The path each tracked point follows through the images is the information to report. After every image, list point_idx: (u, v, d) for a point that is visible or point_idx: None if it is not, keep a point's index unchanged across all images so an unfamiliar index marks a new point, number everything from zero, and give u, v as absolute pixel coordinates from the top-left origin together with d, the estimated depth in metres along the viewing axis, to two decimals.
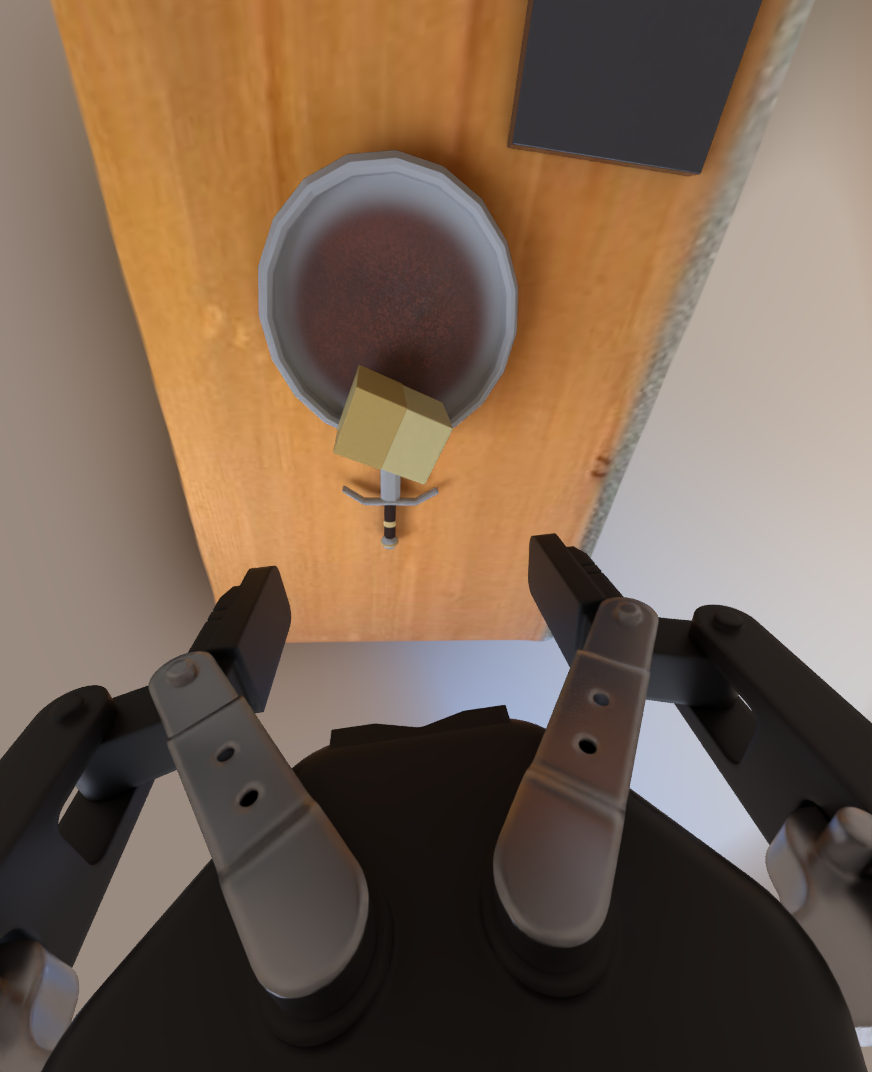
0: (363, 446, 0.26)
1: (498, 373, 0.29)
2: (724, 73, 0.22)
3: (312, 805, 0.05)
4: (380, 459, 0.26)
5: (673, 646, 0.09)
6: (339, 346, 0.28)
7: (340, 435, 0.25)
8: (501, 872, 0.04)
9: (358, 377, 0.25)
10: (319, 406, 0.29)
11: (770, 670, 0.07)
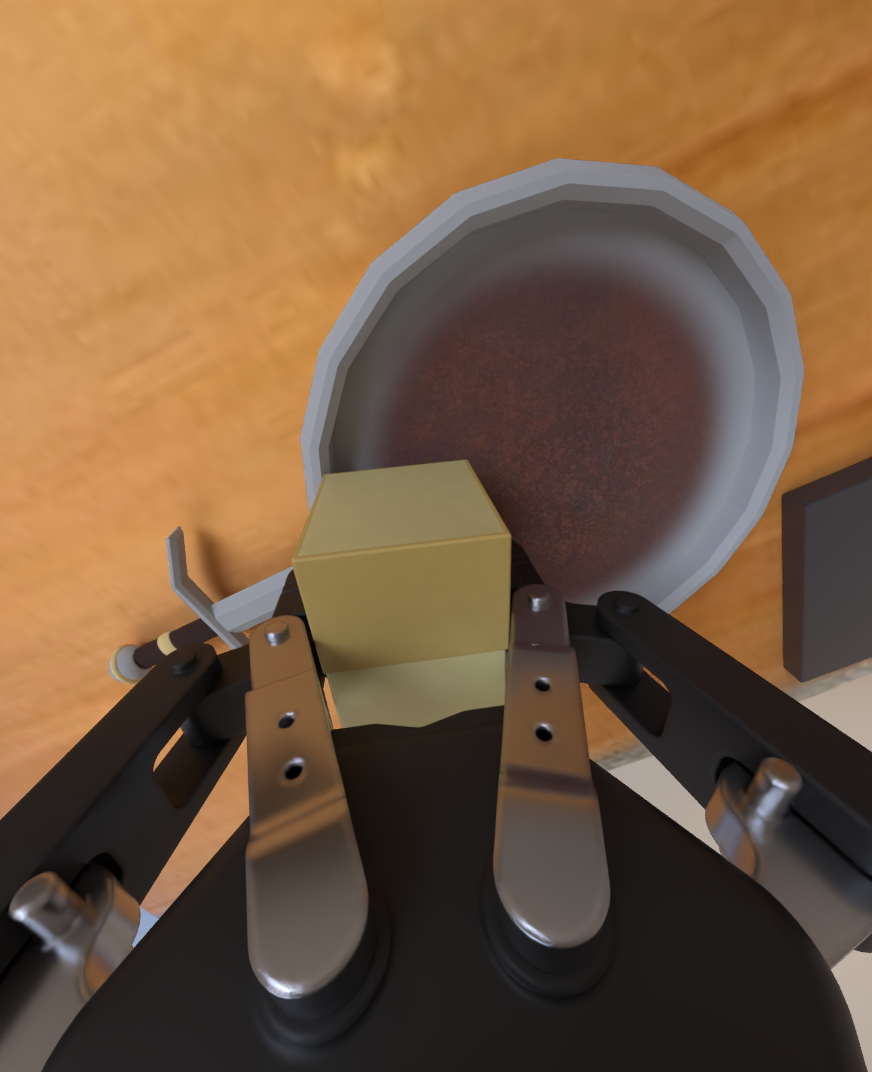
0: (360, 616, 0.09)
1: None
2: None
3: (342, 801, 0.05)
4: (352, 662, 0.10)
5: (578, 629, 0.09)
6: (466, 399, 0.13)
7: (357, 555, 0.08)
8: (501, 872, 0.04)
9: (489, 498, 0.10)
10: (332, 417, 0.12)
11: (671, 644, 0.08)
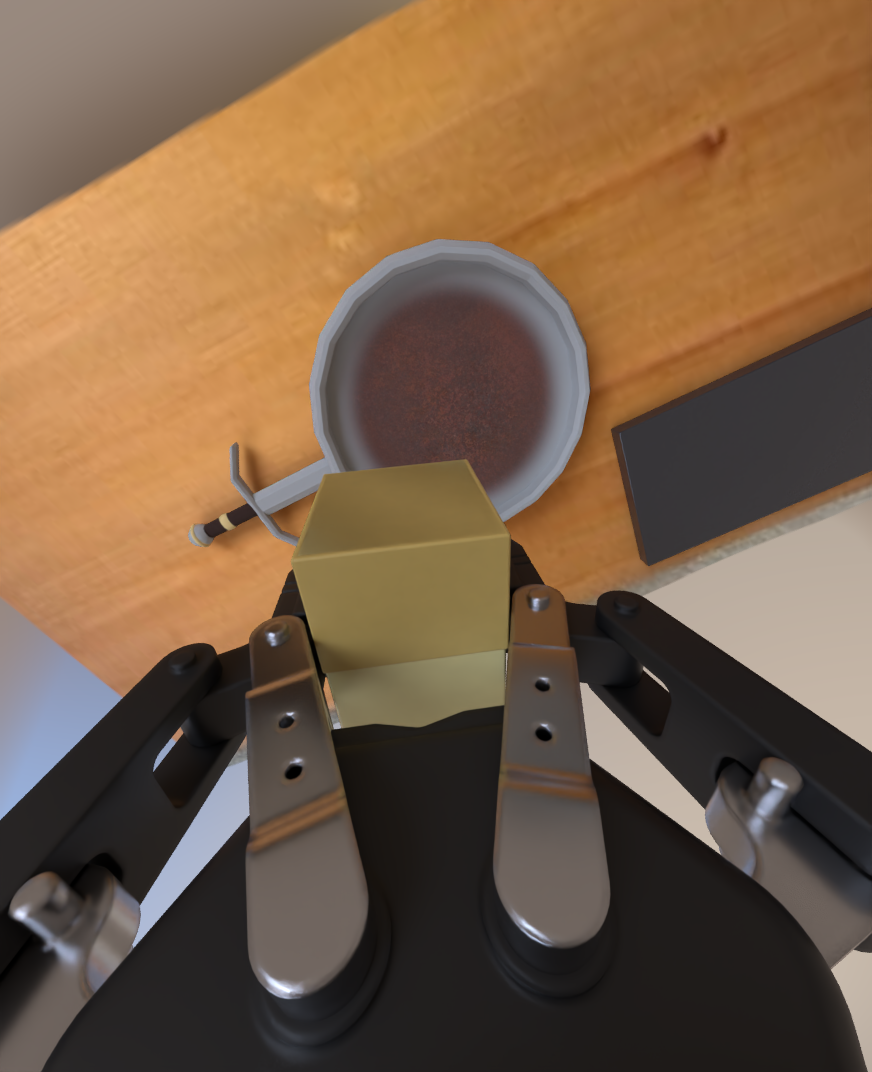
0: (360, 615, 0.09)
1: None
2: (696, 538, 0.32)
3: (342, 801, 0.05)
4: (351, 661, 0.10)
5: (578, 628, 0.09)
6: (401, 363, 0.24)
7: (356, 555, 0.08)
8: (501, 872, 0.04)
9: (488, 498, 0.10)
10: (327, 371, 0.22)
11: (671, 644, 0.08)
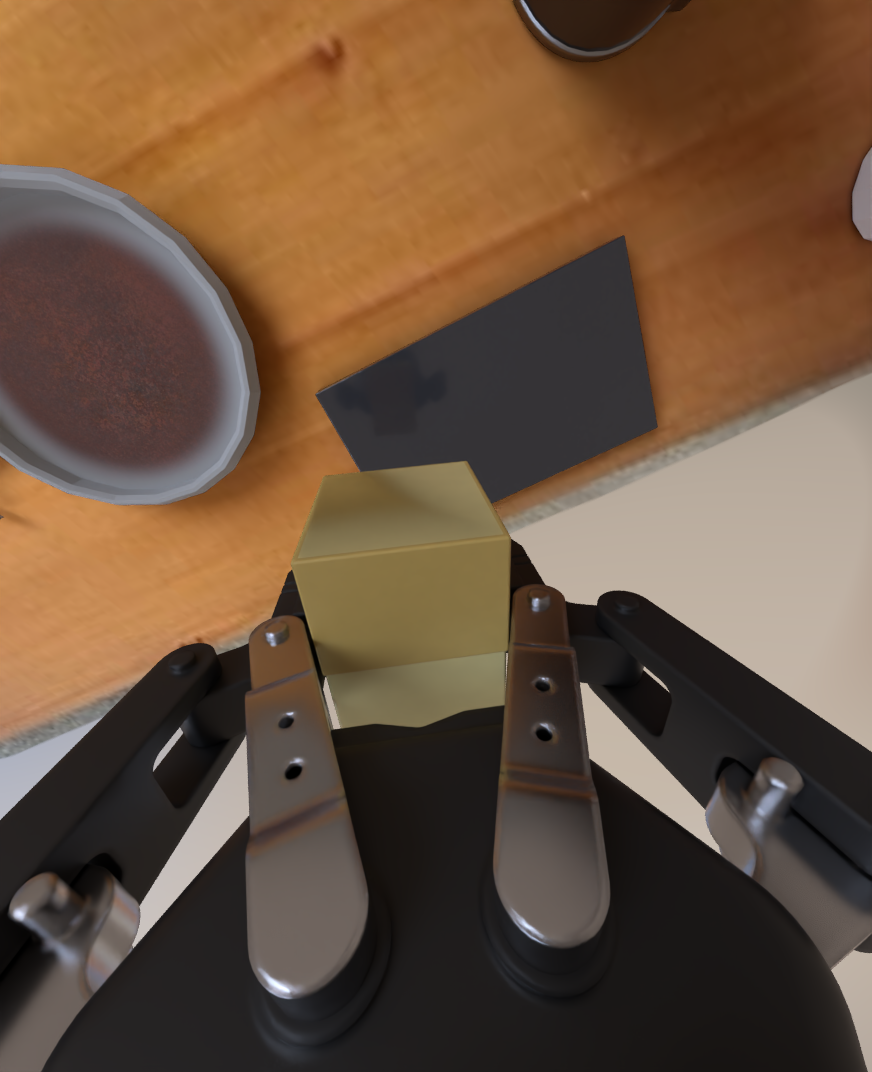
0: (359, 617, 0.09)
1: (154, 501, 0.26)
2: None
3: (342, 801, 0.05)
4: (351, 664, 0.10)
5: (578, 629, 0.09)
6: (22, 312, 0.22)
7: (356, 557, 0.08)
8: (501, 872, 0.04)
9: (489, 500, 0.10)
10: None
11: (671, 644, 0.08)
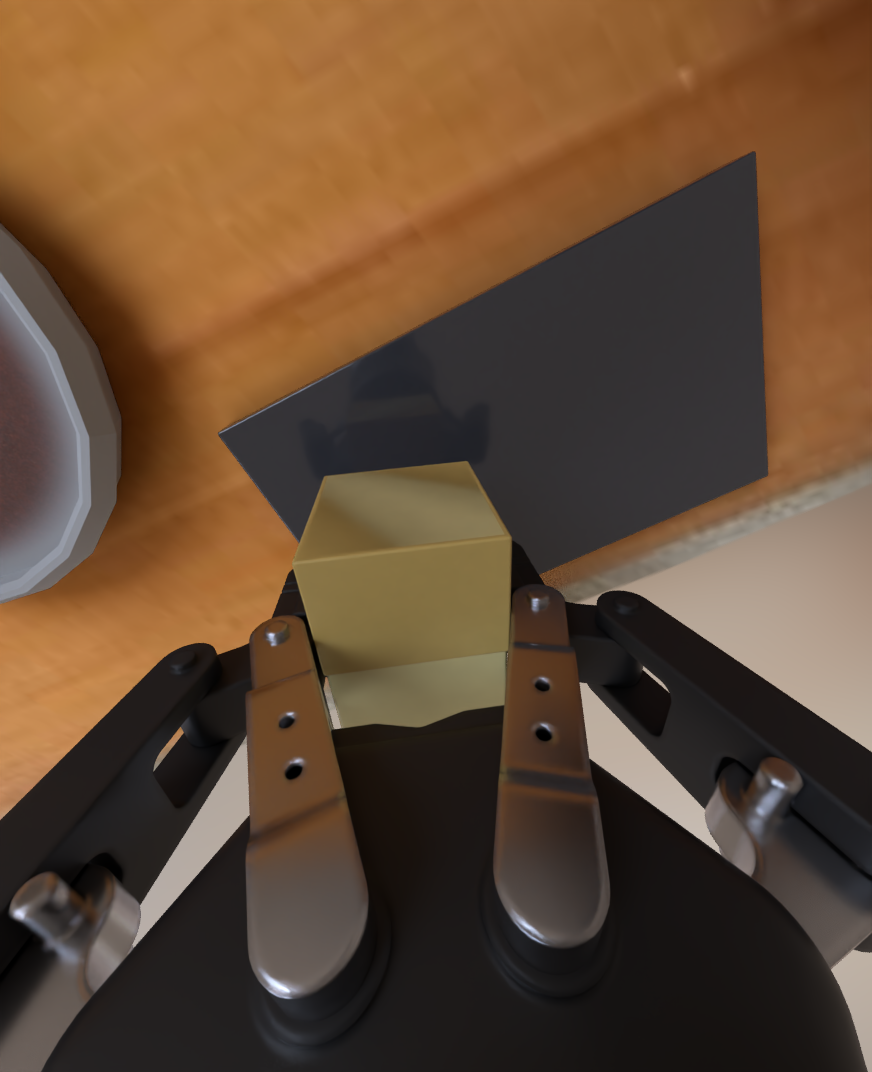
0: (361, 617, 0.09)
1: None
2: None
3: (342, 801, 0.05)
4: (352, 664, 0.10)
5: (578, 629, 0.09)
6: None
7: (357, 557, 0.08)
8: (501, 872, 0.04)
9: (489, 500, 0.10)
10: None
11: (671, 644, 0.08)
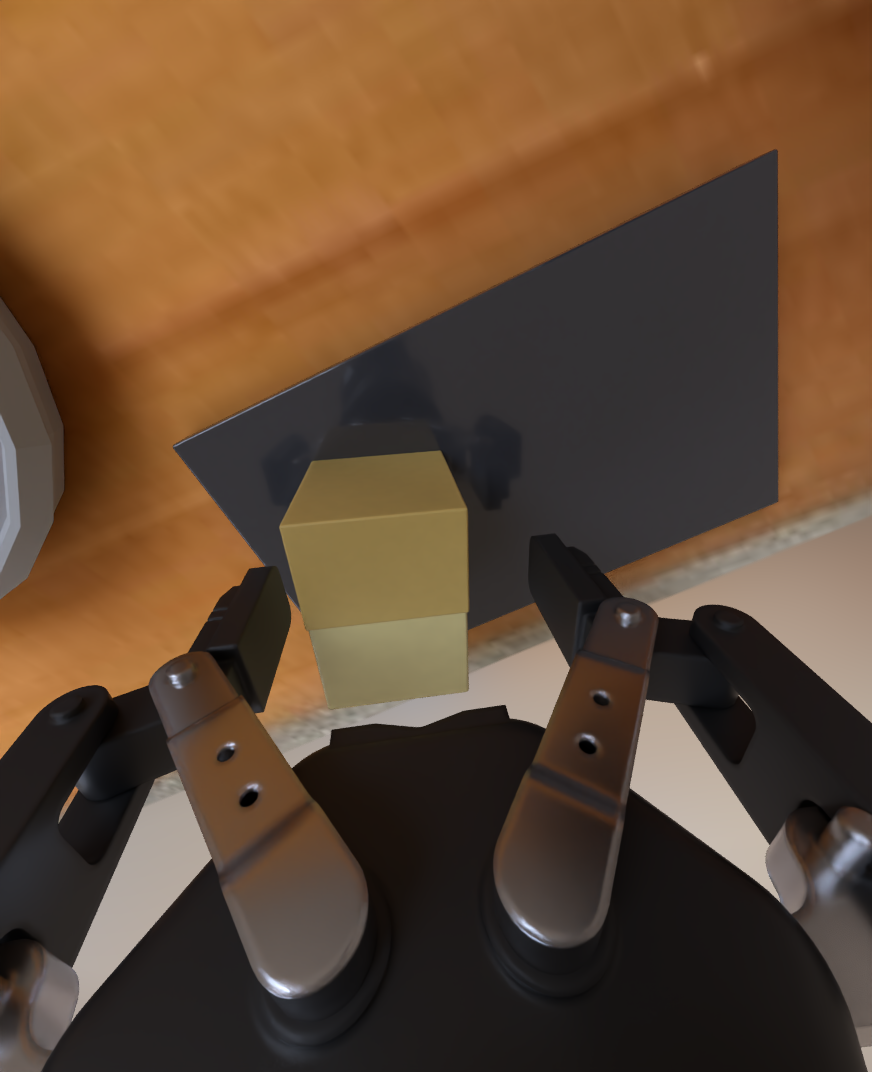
0: (338, 578, 0.10)
1: None
2: None
3: (312, 805, 0.05)
4: (331, 620, 0.11)
5: (673, 646, 0.09)
6: None
7: (335, 523, 0.10)
8: (501, 872, 0.04)
9: (454, 481, 0.12)
10: None
11: (770, 670, 0.07)
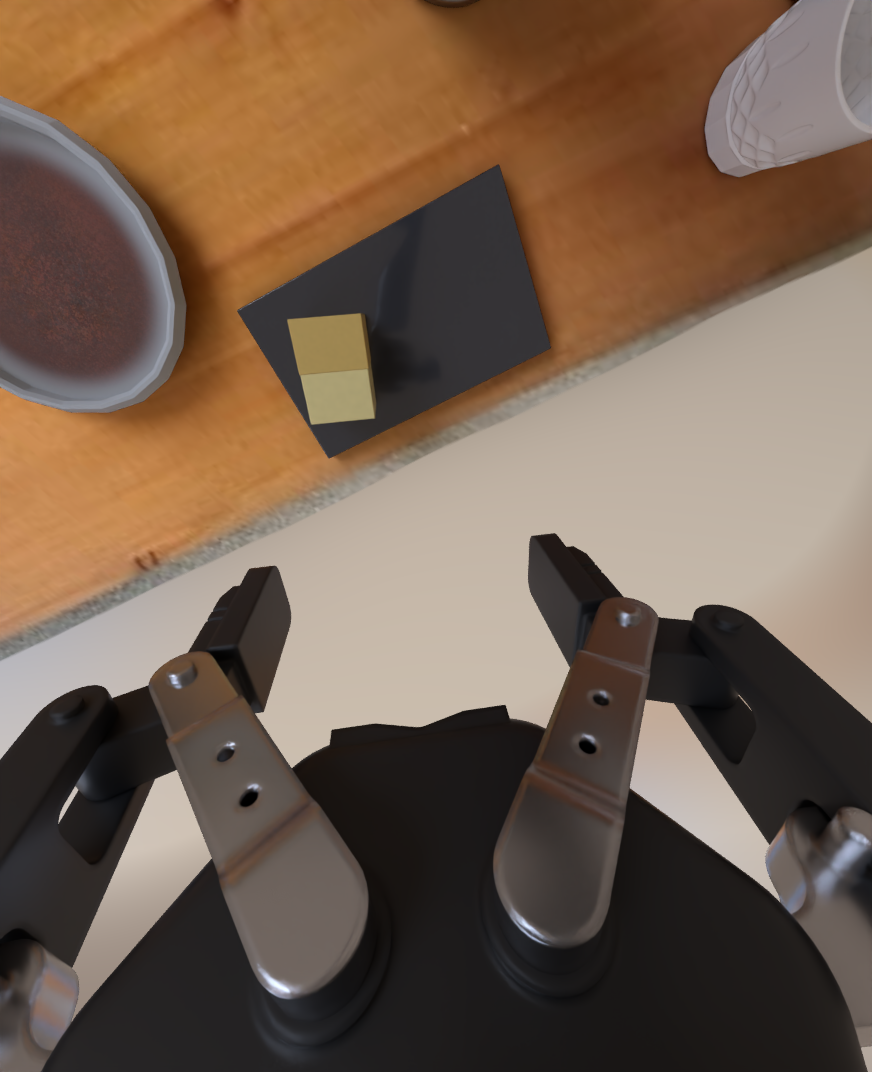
0: (311, 347, 0.26)
1: (97, 406, 0.29)
2: (368, 429, 0.33)
3: (312, 805, 0.05)
4: (309, 369, 0.26)
5: (673, 646, 0.09)
6: None
7: (308, 318, 0.25)
8: (501, 872, 0.04)
9: (362, 314, 0.27)
10: None
11: (770, 670, 0.07)
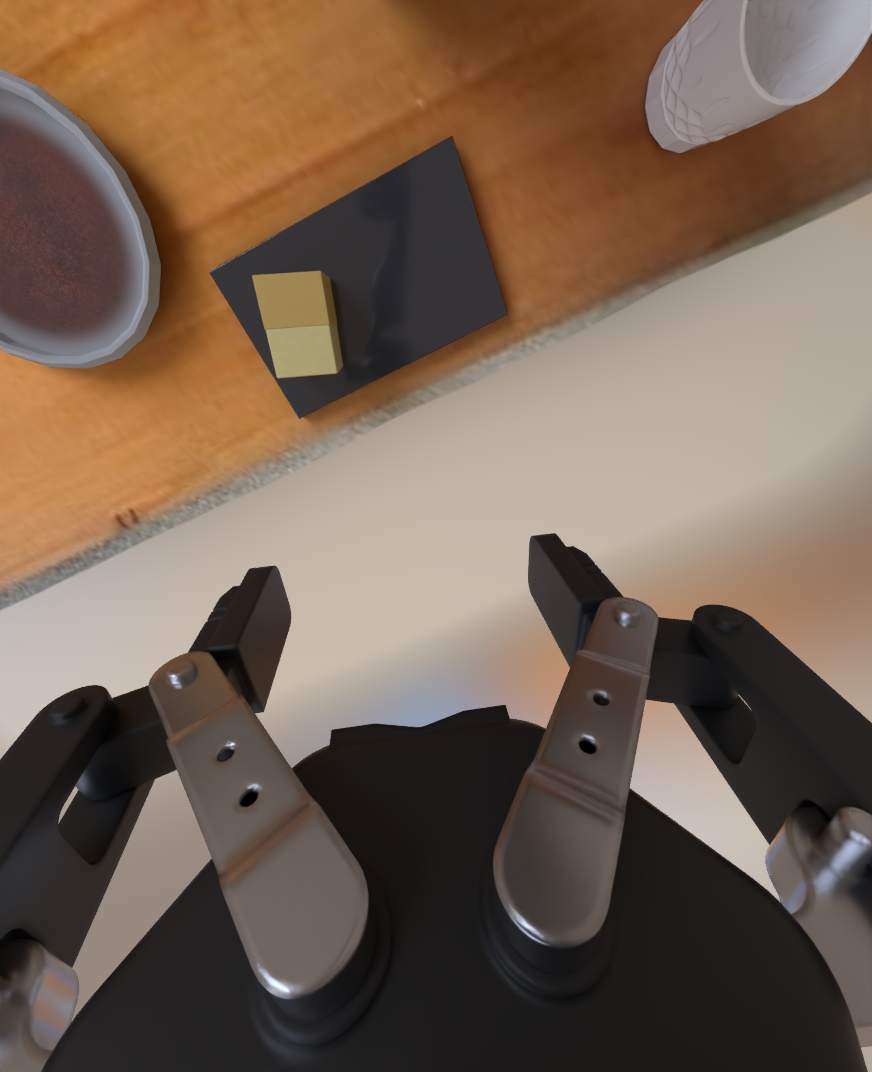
0: (275, 302, 0.28)
1: (77, 361, 0.31)
2: (336, 391, 0.35)
3: (312, 805, 0.05)
4: (274, 324, 0.28)
5: (673, 646, 0.09)
6: None
7: (272, 275, 0.27)
8: (501, 872, 0.04)
9: (324, 274, 0.29)
10: None
11: (770, 670, 0.07)
